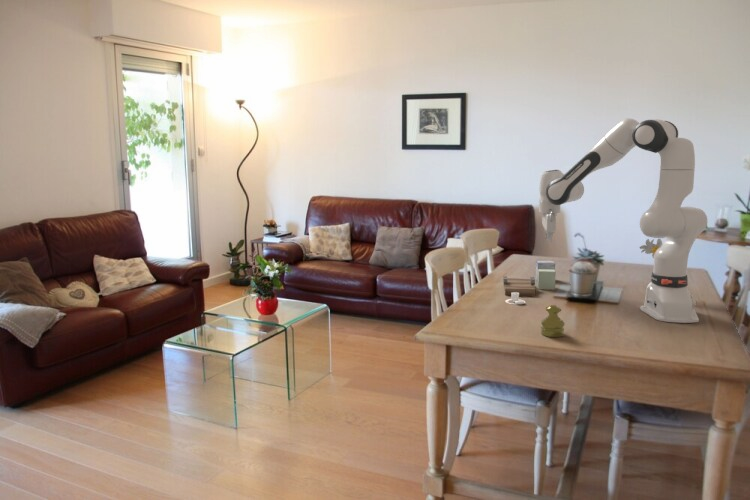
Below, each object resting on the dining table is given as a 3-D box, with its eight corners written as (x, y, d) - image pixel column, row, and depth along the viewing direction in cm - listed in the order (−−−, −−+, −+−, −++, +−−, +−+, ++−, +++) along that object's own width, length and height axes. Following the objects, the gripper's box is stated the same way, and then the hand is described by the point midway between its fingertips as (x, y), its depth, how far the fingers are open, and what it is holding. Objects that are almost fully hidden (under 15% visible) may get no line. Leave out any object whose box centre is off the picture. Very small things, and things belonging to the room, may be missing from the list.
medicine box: (552, 279, 269) (553, 260, 268) (554, 281, 265) (555, 262, 263) (535, 278, 270) (536, 260, 268) (537, 281, 266) (537, 262, 264)
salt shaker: (567, 333, 194) (569, 305, 193) (558, 339, 189) (559, 310, 187) (547, 329, 199) (548, 301, 197) (537, 334, 194) (538, 306, 192)
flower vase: (686, 302, 228) (691, 243, 223) (637, 299, 234) (641, 241, 229) (680, 294, 239) (685, 237, 235) (634, 291, 245) (638, 236, 241)
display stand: (535, 296, 241) (536, 283, 240) (503, 295, 243) (504, 282, 242) (532, 285, 258) (532, 273, 257) (502, 284, 261) (503, 272, 260)
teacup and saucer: (525, 306, 228) (526, 296, 227) (505, 305, 229) (505, 295, 229) (524, 300, 236) (525, 290, 235) (504, 299, 238) (505, 290, 237)
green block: (554, 289, 251) (555, 271, 249) (538, 289, 252) (538, 271, 250) (553, 287, 255) (554, 269, 253) (537, 286, 256) (538, 269, 254)
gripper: (560, 211, 236) (558, 244, 239) (554, 205, 256) (553, 236, 258) (544, 211, 237) (542, 244, 240) (539, 205, 257) (538, 235, 260)
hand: (548, 239), depth 249 cm, fingers open, 8 cm apart
